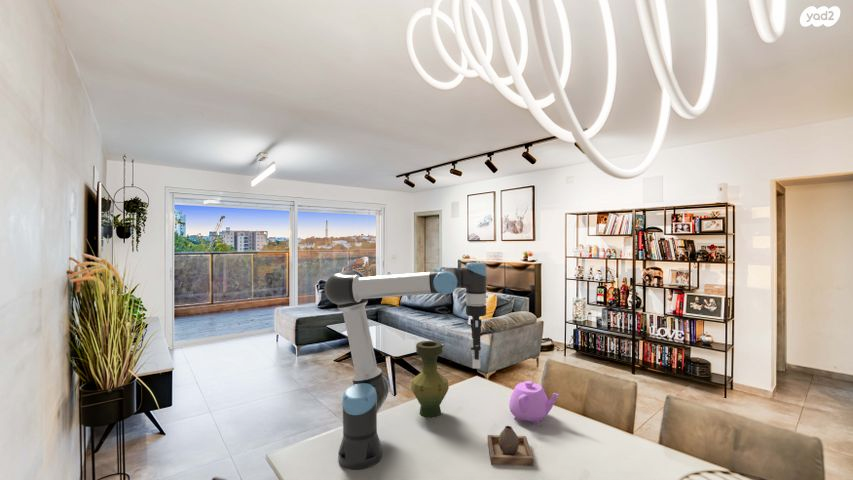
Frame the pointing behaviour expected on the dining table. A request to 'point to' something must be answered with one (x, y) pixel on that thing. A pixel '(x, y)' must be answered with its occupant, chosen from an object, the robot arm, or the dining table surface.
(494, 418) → the dining table surface
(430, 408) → the vase
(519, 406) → the teapot
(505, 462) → the walnut tray
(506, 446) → the vase
